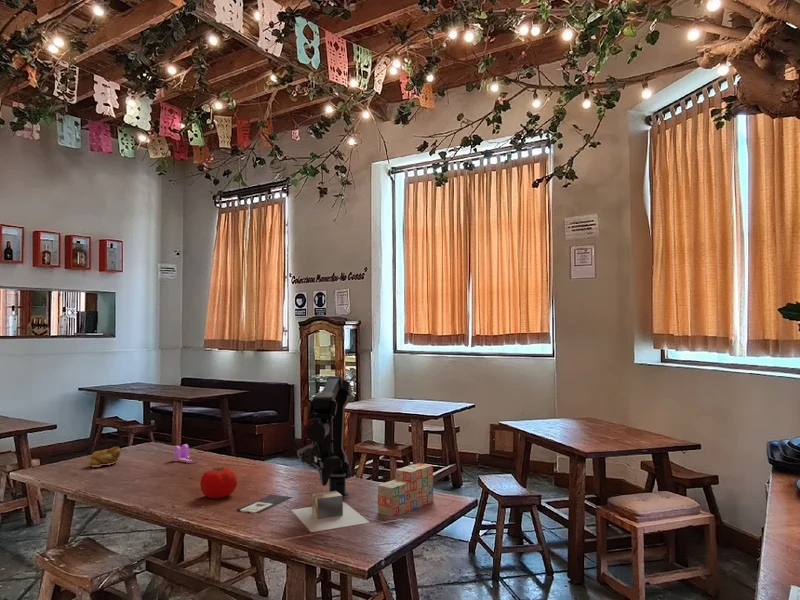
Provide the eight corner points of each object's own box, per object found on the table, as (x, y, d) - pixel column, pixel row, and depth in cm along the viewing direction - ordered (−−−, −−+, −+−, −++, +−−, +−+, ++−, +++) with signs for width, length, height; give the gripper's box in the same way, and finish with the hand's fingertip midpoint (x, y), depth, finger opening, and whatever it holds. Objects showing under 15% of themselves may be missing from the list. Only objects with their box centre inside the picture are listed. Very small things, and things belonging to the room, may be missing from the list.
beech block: (312, 494, 181) (317, 499, 176) (336, 490, 185) (342, 495, 179) (312, 513, 181) (317, 519, 176) (336, 509, 184) (342, 515, 179)
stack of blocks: (392, 518, 176) (392, 478, 177) (377, 514, 180) (376, 475, 181) (433, 501, 193) (433, 464, 193) (419, 498, 197) (418, 462, 197)
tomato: (205, 492, 208) (205, 464, 209) (240, 492, 208) (240, 463, 209) (194, 502, 197) (194, 471, 197) (231, 501, 197) (231, 470, 198)
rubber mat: (291, 511, 185) (291, 509, 185) (344, 503, 193) (344, 501, 193) (311, 533, 164) (311, 532, 164) (369, 523, 172) (369, 522, 172)
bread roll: (93, 470, 246) (93, 451, 247) (82, 467, 252) (82, 448, 252) (122, 464, 256) (122, 446, 257) (111, 461, 262) (112, 443, 263)
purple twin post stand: (173, 461, 261) (173, 445, 261) (183, 458, 265) (183, 443, 266) (191, 464, 254) (191, 448, 254) (201, 462, 258) (201, 446, 259)
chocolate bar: (292, 497, 199) (259, 512, 183) (292, 499, 199) (259, 515, 183) (271, 494, 203) (236, 509, 186) (271, 497, 203) (236, 512, 186)
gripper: (291, 433, 189) (291, 481, 188) (307, 443, 172) (307, 496, 171) (324, 430, 194) (324, 477, 193) (342, 439, 177) (343, 491, 176)
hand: (324, 485), depth 183 cm, fingers closed
